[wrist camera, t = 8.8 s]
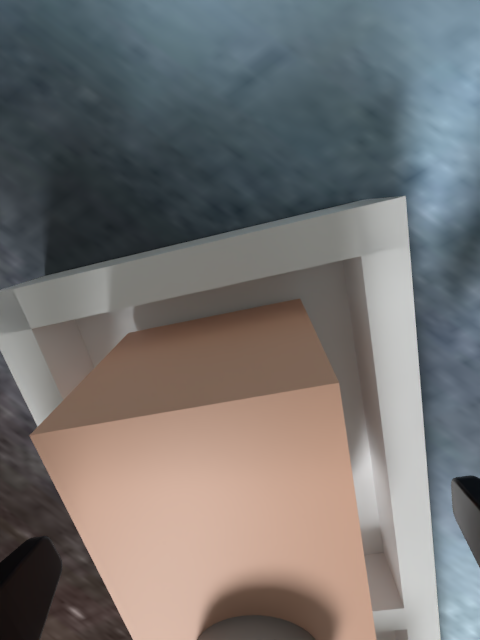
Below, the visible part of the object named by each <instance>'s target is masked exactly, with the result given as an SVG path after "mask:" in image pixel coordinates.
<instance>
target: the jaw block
mask: <svg viewBox="0 0 480 640" xmlns="http://www.w3.org/2000/svg"><path fill="white" fill-rule="evenodd" d="M29 436H30V438H31V440H32V442H33V443H34V445H35V447H36V449H37V451H38V453H39V455H40V457H41V459H42V461H43V463H44V465H45V467H46V469H47V471H48V473H49V475H50V477H51V479H52V481H53V483H54V485H55V487H56V489H57V491H58V493H59V495H60V497H61V499H62V501H63V503H64V505H65V506H66V508H67V510H68V512H69V514H70V516H71V518H72V520H73V522H74V524H75V526H76V528H77V530H78V532H79V534H80V536H81V538H82V540H83V542H84V544H85V546H86V548H87V550H88V552H89V554H90V556H91V558H92V560H93V562H94V564H95V566H96V567H97V569H98V571H99V573H100V575H101V577H102V579H103V581H104V583H105V585H106V587H107V589H108V591H109V593H110V595H111V597H112V599H113V601H114V603H115V605H116V607H117V609H118V611H119V613H120V615H121V617H122V619H123V621H124V623H125V625H126V627H127V629H128V630H129V632H130V634H131V636H132V638H133V640H376V633H375V626H374V619H373V612H372V605H371V598H370V591H369V585H368V578H367V571H366V564H365V557H364V550H363V543H362V536H361V530H360V523H359V516H358V509H357V502H356V495H355V488H354V481H353V475H352V468H351V461H350V454H349V447H348V440H347V433H346V426H345V420H344V413H343V406H342V399H341V392H340V385H339V381H338V379H337V377H336V375H335V373H334V371H333V368H332V366H331V364H330V362H329V360H328V358H327V355H326V353H325V351H324V349H323V347H322V345H321V342H320V340H319V338H318V336H317V334H316V332H315V329H314V327H313V325H312V323H311V321H310V319H309V316H308V314H307V312H306V310H305V308H304V306H303V303H302V301H301V299H295V300H290V301H285V302H280V303H275V304H270V305H265V306H260V307H255V308H250V309H245V310H240V311H235V312H230V313H225V314H220V315H215V316H210V317H205V318H200V319H195V320H190V321H185V322H180V323H175V324H170V325H165V326H160V327H155V328H150V329H145V330H140V331H135V332H130V333H128V334H127V335H126V336H125V337H124V338H123V339H122V340H121V341H120V342H119V343H118V344H117V345H116V346H115V347H114V348H113V349H112V350H111V351H110V353H109V354H108V355H107V356H106V357H105V358H104V359H103V360H102V361H101V362H100V363H99V364H98V365H97V366H96V367H95V368H94V369H93V370H92V371H91V372H90V373H89V374H88V375H87V376H86V377H85V378H84V379H83V380H82V381H81V383H80V384H79V385H78V386H77V387H76V388H75V389H74V390H73V391H72V392H71V393H70V394H69V395H68V396H67V397H66V398H65V399H64V400H63V401H62V402H61V403H60V404H59V405H58V406H57V407H56V408H55V409H54V410H53V411H52V413H51V414H50V415H49V416H48V417H47V418H46V419H45V420H44V421H43V422H42V423H41V424H40V425H39V426H38V427H37V428H36V429H35V430H34V431H33V432H32V433H31V434H30V435H29Z"/></svg>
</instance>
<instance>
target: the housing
mask: <svg viewBox="0 0 480 640" xmlns="http://www.w3.org/2000/svg"><path fill="white" fill-rule="evenodd" d="M295 299H301V301H302V303H303V306H304V308H305V310H306V312H307V314H308V316H309V319H310V321H311V323H312V325H313V327H314V329H315V332H316V334H317V336H318V338H319V340H320V342H321V345H322V347H323V349H324V351H325V353H326V355H327V358H328V360H329V362H330V364H331V366H332V368H333V371H334V373H335V375H336V377H337V379H338V381H339V385H340V392H341V399H342V406H343V413H344V420H345V426H346V433H347V440H348V447H349V454H350V461H351V468H352V475H353V481H354V488H355V495H356V502H357V509H358V516H359V523H360V530H361V536H362V543H363V550H364V557H365V564H366V571H367V578H368V585H369V591H370V598H371V605H372V612H373V619H374V626H375V633H376V640H441V639H440V626H439V613H438V601H437V588H436V575H435V562H434V550H433V537H432V524H431V512H430V499H429V486H428V474H427V461H426V448H425V435H424V423H423V410H422V397H421V385H420V372H419V359H418V347H417V334H416V321H415V309H414V296H413V283H412V270H411V258H410V245H409V232H408V220H407V207H406V196H399V197H387V198H375V199H364V200H360V201H356V202H352V203H347V204H343V205H339V206H335V207H331V208H327V209H322V210H318V211H314V212H310V213H306V214H301V215H297V216H293V217H289V218H285V219H281V220H276V221H272V222H268V223H264V224H260V225H255V226H251V227H247V228H243V229H239V230H235V231H230V232H226V233H222V234H218V235H214V236H209V237H205V238H201V239H197V240H193V241H189V242H184V243H180V244H176V245H172V246H168V247H163V248H159V249H155V250H151V251H147V252H142V253H138V254H134V255H130V256H126V257H122V258H117V259H113V260H109V261H105V262H101V263H96V264H92V265H88V266H84V267H80V268H76V269H71V270H67V271H63V272H59V273H55V274H50V275H46V276H42V277H39V278H36V279H33V280H30V281H27V282H24V283H21V284H17V285H14V286H11V287H8V288H5V289H2V290H0V350H1V352H2V354H3V356H4V358H5V361H6V363H7V365H8V367H9V369H10V371H11V373H12V375H13V377H14V379H15V381H16V383H17V385H18V387H19V389H20V391H21V393H22V395H23V398H24V400H25V402H26V404H27V406H28V408H29V410H30V412H31V414H32V416H33V418H34V420H35V422H36V424H37V426H39V425H40V424H41V423H42V422H43V421H44V420H45V419H46V418H47V417H48V416H49V415H50V414H51V413H52V411H53V410H54V409H55V408H56V407H57V406H58V405H59V404H60V403H61V402H62V401H63V400H64V399H65V398H66V397H67V396H68V395H69V394H70V393H71V392H72V391H73V390H74V389H75V388H76V387H77V386H78V385H79V384H80V383H81V381H82V380H83V379H84V378H85V377H86V376H87V375H88V374H89V373H90V372H91V371H92V370H93V369H94V368H95V367H96V366H97V365H98V364H99V363H100V362H101V361H102V360H103V359H104V358H105V357H106V356H107V355H108V354H109V353H110V351H111V350H112V349H113V348H114V347H115V346H116V345H117V344H118V343H119V342H120V341H121V340H122V339H123V338H124V337H125V336H126V335H127V334H128V333H130V332H135V331H140V330H145V329H150V328H155V327H160V326H165V325H170V324H175V323H180V322H185V321H190V320H195V319H200V318H205V317H210V316H215V315H220V314H225V313H230V312H235V311H240V310H245V309H250V308H255V307H260V306H265V305H270V304H275V303H280V302H285V301H290V300H295Z"/></svg>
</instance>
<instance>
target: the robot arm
mask: <svg viewBox="0 0 480 640" xmlns="http://www.w3.org/2000/svg"><path fill="white" fill-rule="evenodd" d="M451 490H452V508H453V513H454V516H455V519H456V521H457V523H458V525H459V527H460V529H461V531H462V533H463V535H464V537H465V539H466V541H467V543H468V545H469V547H470V549H471V551H472V553H473V555H474V557H475V559H476V561H477V563H478V565H479V567H480V479H479V478H478V477H475V476H463V477H456V478H453V479H452V481H451ZM61 572H62V560H61V558H60V556H59V554H58V552H57V550H56V549H55V547H54V545H53V543H52V541H51V539H50V538H49V537H47V536H41V537H34V538H30V539H28V540H27V541H25V542H24V543H23V544H22V545H20V546H19V547H18V548H17V549H16V550H15V551H13V552H12V553H11V554H10V555H9V556H7V557H6V558H5V559H4V560H3V561H2V562H0V640H40V638H41V635H42V631H43V628H44V625H45V622H46V619H47V616H48V613H49V610H50V606H51V603H52V600H53V597H54V594H55V591H56V588H57V585H58V581H59V578H60V575H61Z"/></svg>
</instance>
